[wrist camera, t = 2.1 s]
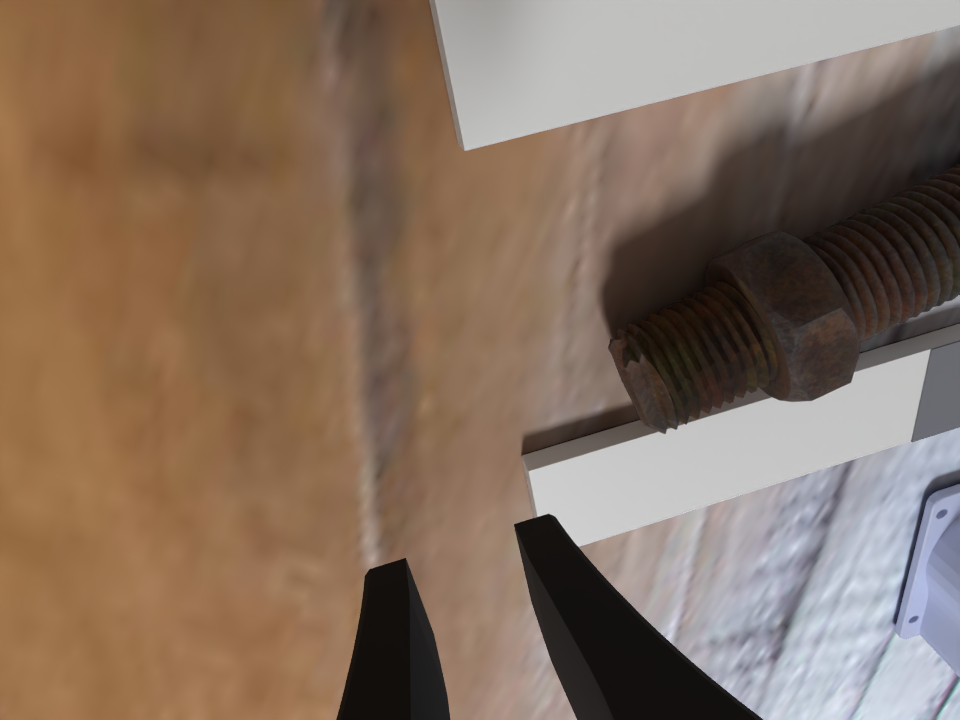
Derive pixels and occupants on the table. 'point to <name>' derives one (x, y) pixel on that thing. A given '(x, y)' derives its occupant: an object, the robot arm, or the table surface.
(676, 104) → the table surface
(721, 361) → the bolt
